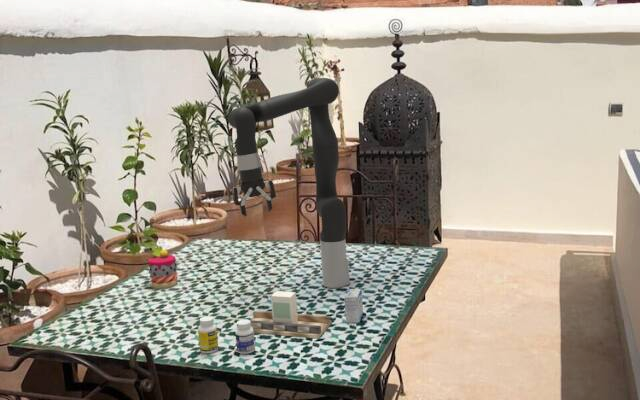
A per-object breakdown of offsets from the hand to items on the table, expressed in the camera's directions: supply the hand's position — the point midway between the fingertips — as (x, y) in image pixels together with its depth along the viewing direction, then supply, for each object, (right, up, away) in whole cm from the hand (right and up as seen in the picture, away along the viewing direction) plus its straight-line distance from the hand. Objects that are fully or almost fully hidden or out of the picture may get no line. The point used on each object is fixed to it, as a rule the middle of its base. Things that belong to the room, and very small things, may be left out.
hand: (257, 213), depth 230 cm
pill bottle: (0, -39, -34) cm, 52 cm away
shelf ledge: (+11, -35, -19) cm, 42 cm away
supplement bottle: (-11, -40, -32) cm, 52 cm away
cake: (-39, -29, +31) cm, 58 cm away
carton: (+11, -34, -19) cm, 41 cm away
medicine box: (+32, -33, -15) cm, 49 cm away
